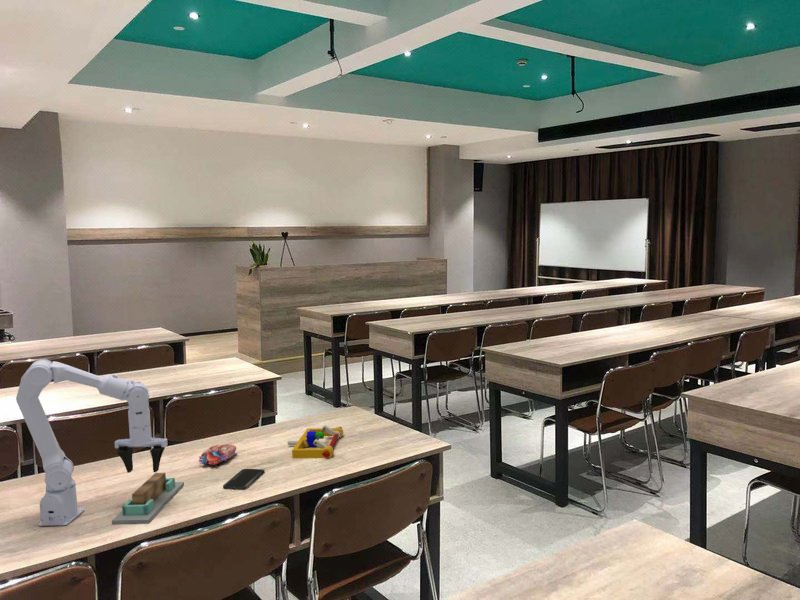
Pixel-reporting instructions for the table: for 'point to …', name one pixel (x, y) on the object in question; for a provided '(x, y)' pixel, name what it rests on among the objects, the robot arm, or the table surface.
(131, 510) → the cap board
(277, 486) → the table surface
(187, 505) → the table surface
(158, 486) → the slat
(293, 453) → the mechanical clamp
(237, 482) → the phone
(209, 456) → the anatomical model
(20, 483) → the table surface
